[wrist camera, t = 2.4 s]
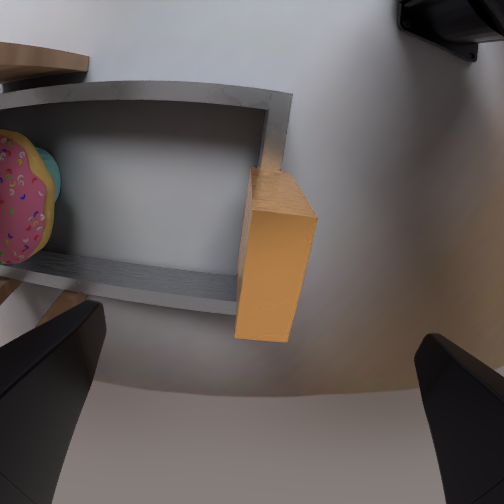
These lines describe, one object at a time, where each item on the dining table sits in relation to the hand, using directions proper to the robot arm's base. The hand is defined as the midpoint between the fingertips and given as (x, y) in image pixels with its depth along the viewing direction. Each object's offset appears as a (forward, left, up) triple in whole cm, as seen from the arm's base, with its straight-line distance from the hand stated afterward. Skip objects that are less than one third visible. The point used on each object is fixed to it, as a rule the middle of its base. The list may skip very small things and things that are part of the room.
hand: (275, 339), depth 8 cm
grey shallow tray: (+10, 0, -13) cm, 16 cm away
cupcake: (+16, 0, -13) cm, 21 cm away
